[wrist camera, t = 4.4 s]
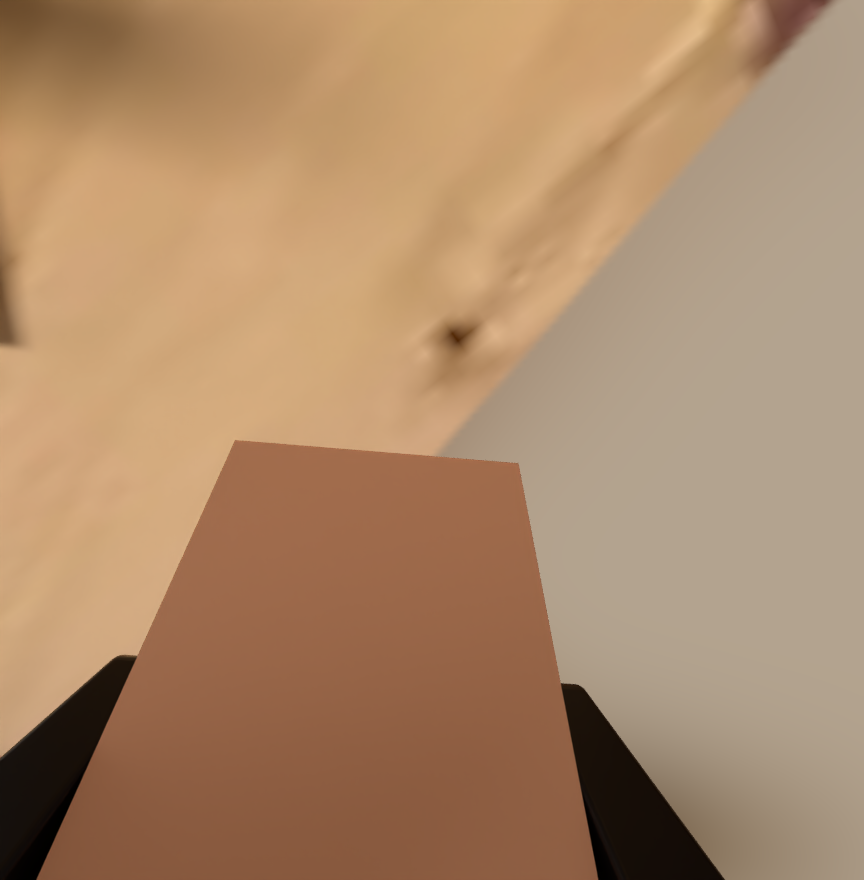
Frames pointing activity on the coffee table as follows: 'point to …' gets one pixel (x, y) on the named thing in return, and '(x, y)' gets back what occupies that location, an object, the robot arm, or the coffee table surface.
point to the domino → (341, 689)
